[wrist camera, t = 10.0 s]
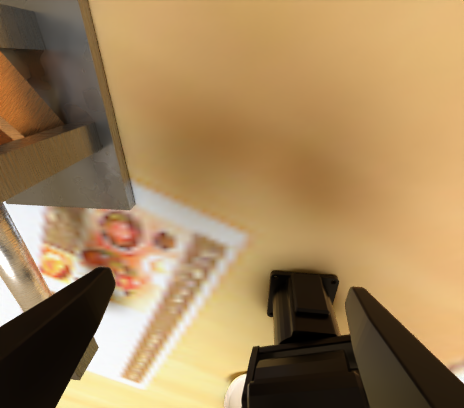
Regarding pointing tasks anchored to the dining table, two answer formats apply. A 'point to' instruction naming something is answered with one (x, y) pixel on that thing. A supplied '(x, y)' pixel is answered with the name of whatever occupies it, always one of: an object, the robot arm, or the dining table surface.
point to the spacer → (21, 106)
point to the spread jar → (235, 393)
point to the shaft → (27, 278)
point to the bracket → (62, 111)
